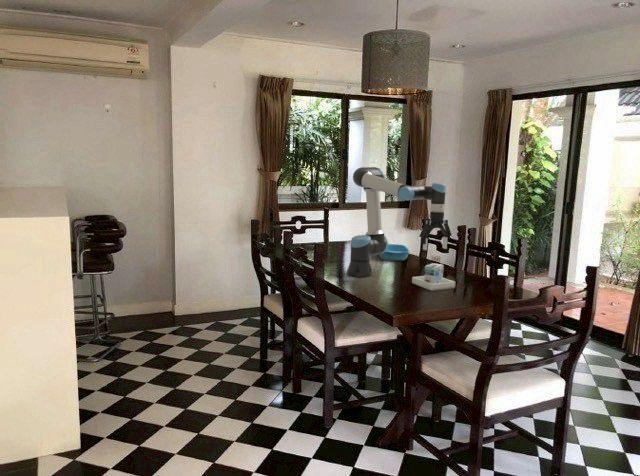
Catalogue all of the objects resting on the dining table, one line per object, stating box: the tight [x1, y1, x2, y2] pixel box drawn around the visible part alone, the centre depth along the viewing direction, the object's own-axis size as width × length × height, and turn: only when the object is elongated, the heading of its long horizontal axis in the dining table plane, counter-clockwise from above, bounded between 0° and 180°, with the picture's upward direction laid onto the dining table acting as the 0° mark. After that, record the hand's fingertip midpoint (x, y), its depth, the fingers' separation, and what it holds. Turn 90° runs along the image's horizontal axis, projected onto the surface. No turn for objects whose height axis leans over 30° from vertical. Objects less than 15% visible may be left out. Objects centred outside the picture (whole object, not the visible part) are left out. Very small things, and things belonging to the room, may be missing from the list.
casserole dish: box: [378, 243, 410, 261], centre depth 363 cm, size 37×22×7 cm, turn 0°
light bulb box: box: [424, 262, 444, 284], centre depth 283 cm, size 11×7×11 cm, turn 142°
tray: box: [411, 275, 456, 292], centre depth 284 cm, size 16×18×4 cm
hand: (434, 249), depth 281 cm, fingers open, 13 cm apart
